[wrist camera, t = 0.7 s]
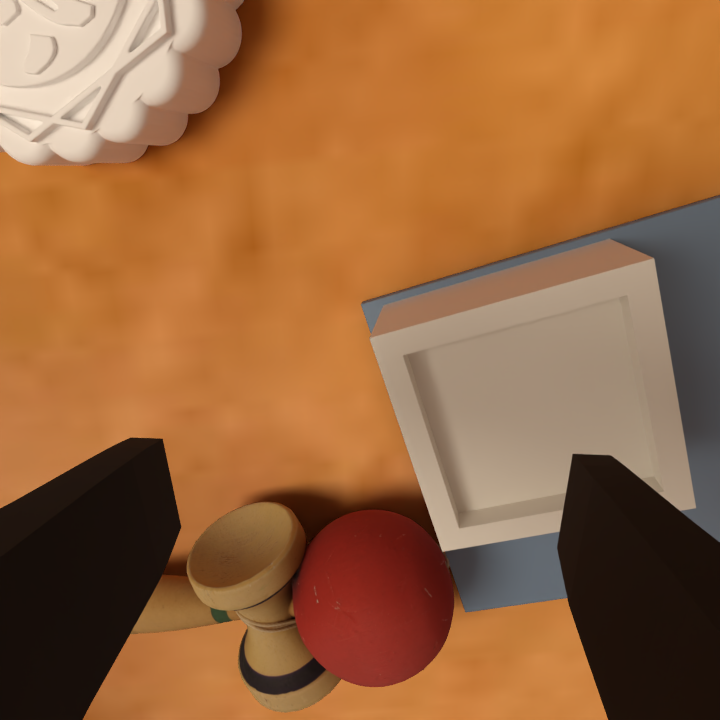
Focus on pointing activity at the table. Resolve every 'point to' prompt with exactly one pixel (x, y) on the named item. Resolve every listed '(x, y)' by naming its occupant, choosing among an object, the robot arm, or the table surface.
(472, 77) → the table surface
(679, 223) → the mat
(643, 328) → the base block
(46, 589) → the robot arm
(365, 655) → the kendama
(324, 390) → the table surface
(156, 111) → the mooncake
